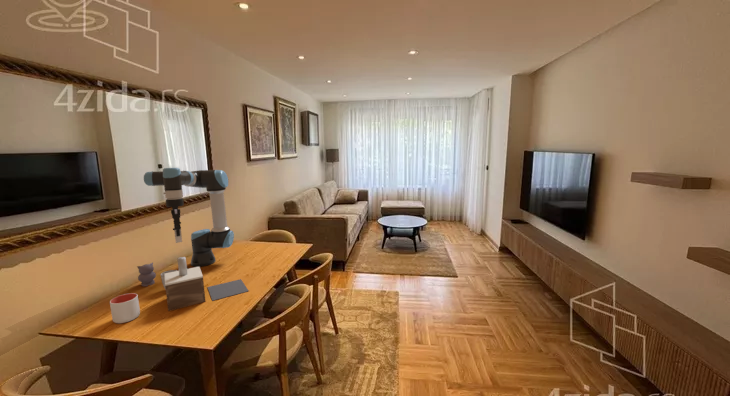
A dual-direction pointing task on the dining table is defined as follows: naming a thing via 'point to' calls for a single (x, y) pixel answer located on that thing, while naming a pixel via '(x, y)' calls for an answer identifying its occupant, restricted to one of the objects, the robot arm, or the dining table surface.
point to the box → (185, 294)
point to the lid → (182, 273)
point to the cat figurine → (146, 274)
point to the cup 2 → (164, 276)
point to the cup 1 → (125, 308)
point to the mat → (227, 289)
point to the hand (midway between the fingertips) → (178, 239)
